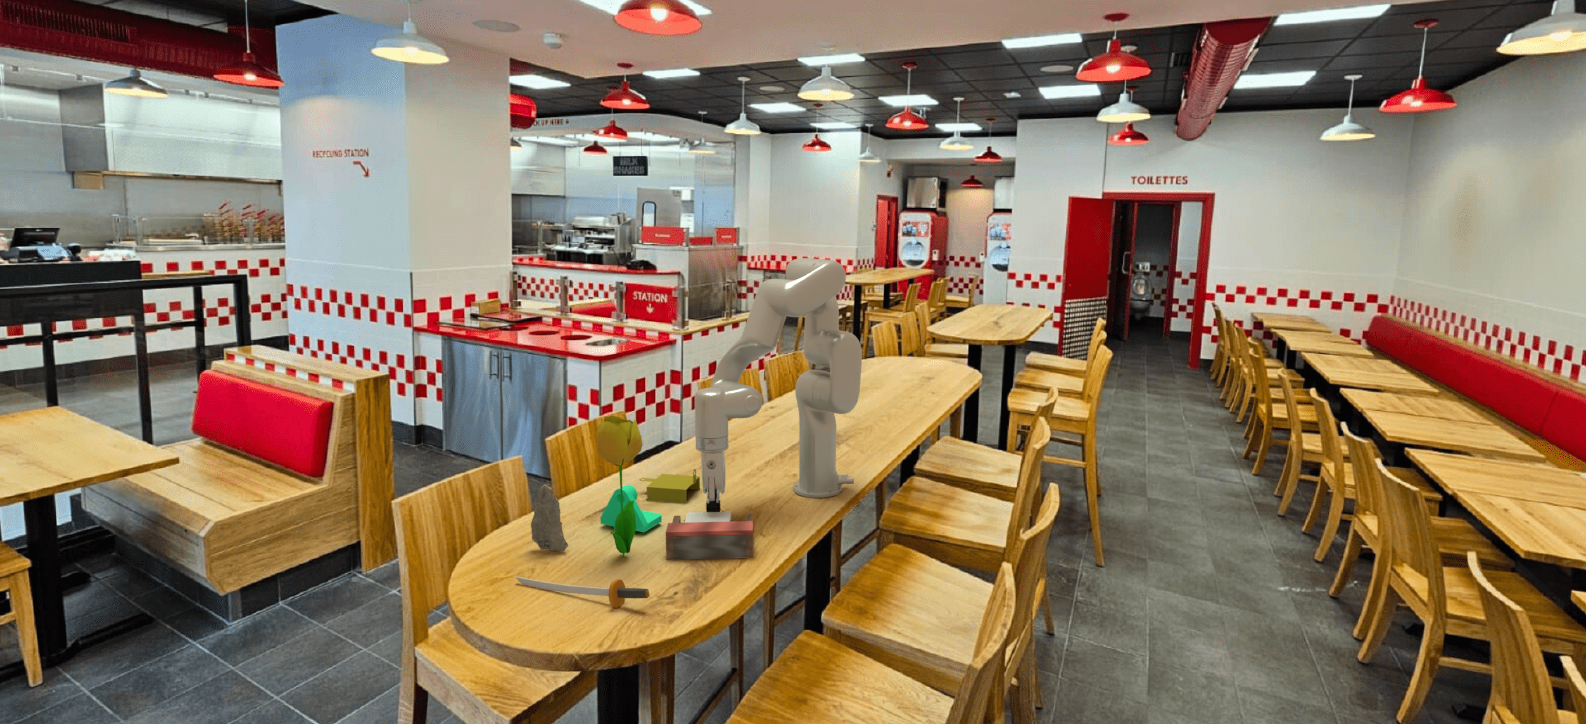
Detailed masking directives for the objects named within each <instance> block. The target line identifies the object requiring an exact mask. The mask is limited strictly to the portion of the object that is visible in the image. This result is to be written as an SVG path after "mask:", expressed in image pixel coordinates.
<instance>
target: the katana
mask: <svg viewBox="0 0 1586 724" xmlns="http://www.w3.org/2000/svg"><path fill="white" fill-rule="evenodd" d="M514 577H515V579H516V580H517V581H518V582H519V584H521V585H523V586H526V585H529V586H528V587H531V586H533V587H532V588H535V587H536V588H535V589H541V590H546V591H552V592H559V593H567V594H575V595H576V594H577V595H578V594H579V595H590V596H591V595H593V596H603V597H608V600H609V604H610V606H611V607H612V608H614V609H618V608H620V607H621V606H622V605H623V604H624V603H625V601H626V599H649V597H650V596H651V595H650V590H649V589H648V588H640V587H639V588H638V587H637V588H636V587H626V585H625V583H624V581H623V579H621V578H620V579H619V578H615V579H614V580H612V582H611V583H610V585H609V588H608V587H607V588H606V587H595V586H582V585H569V584H564V583H563V584H562V583H557V582H556V583H555V582H550V581H548V582H547V581H545V580H544V581H542V580H537V579H530V578H526V577H521V576H516V575H515V576H514ZM621 604H622V605H621ZM620 605H621V606H620ZM619 606H620V607H619Z"/></svg>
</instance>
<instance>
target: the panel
mask: <svg viewBox="0 0 1586 724" xmlns="http://www.w3.org/2000/svg"><path fill="white" fill-rule="evenodd" d="M731 513H732V512H731V511H721V512H706V511H705V512H703V511H702V512H701V511H698V512H693V511H692V512H691V511H690V512H687V513H686V517H685V520H684V523H688V522H731V521H732V516H731V515H732V514H731Z"/></svg>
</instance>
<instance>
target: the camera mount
mask: <svg viewBox="0 0 1586 724" xmlns="http://www.w3.org/2000/svg"><path fill="white" fill-rule="evenodd" d="M622 498H623V508H624V506H625V505H626V504H627V503H628V502H629V501H634V503H633V505H634V513H635V519H636V530H635V532H641V533H645V532H647V531H648V530H651V529H653V528H654V527H655V526H657V525H658V524H660V523H662V519H663V518H662V514H661V513H660V512H659V513H658V512H653V511H648V510H643V509H642V510H641V508H640V506H639V504H638V503H637V499H638V492H637V489H636V488H635V486H634V485H631V484H625V485H622ZM620 511H621V492H620V487H619V488H617V489H615V490H614V491H613V493H612V495H611V496H610V499H609V501H608V502H607V504H606V506H605V508H604V510H603V512H602V513H601V516H600V525H603V526H604V525H605V526H611V527H613V531H615V521H616V518H617V516H618V514H619V512H620Z"/></svg>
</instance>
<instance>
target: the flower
mask: <svg viewBox="0 0 1586 724" xmlns="http://www.w3.org/2000/svg"><path fill="white" fill-rule="evenodd" d="M596 433H597V434H596V437H595V438H596V447H597V451H598V454H599V456H600V457H601V459H603V460H605V461H606V462H608V463H611V464H612V465H614V466H617V467H618V468H619V469H618V473H619V488H620V492H621V511H620V512H619V514H618V516H617V518H616V521H615V530H614V531H612V530H611V531H610V535H611V534H612V537H613V540H614V545H615V548H616V549H617V551H618V552H619V553H621V554H622V557H623V558H625V556H626V555H625V554H627V553H628V554H629V553H631V547H632V543H633V539H634V537H635V534H636V531H635V530H636V519H635V513H634V505H633V503H634V501H629V502H628V503H627V504H626V505H625V506H624V508H623V498H622V487H623V465H625V464H627V463H629V462H631V461H633V460H634V459H635V458H636V457H637V456H638V455H639V454H640V453H641V452H642V447H643V439H642V435H641V432H640V429H639V425H638V422H637V419H636V418H634V420H631V419H624V418H621V417H620V416H616V415H610V416H609V415H608V416H607V417H605V418H604V419H603V421H602V422H601V423H600V424H599V425H598V428H597V431H596Z"/></svg>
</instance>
